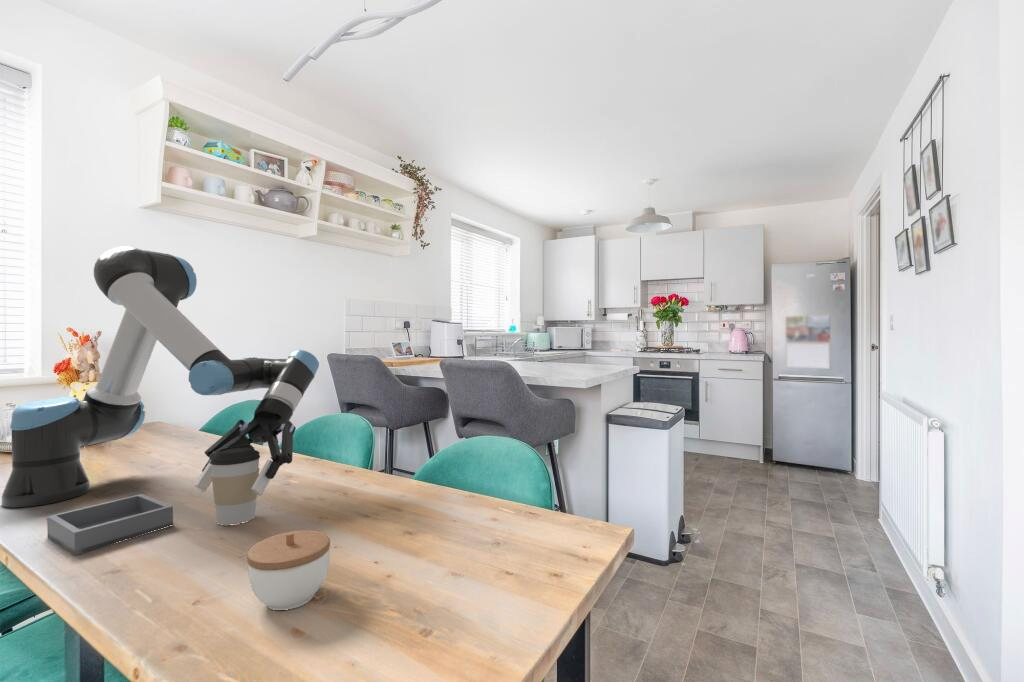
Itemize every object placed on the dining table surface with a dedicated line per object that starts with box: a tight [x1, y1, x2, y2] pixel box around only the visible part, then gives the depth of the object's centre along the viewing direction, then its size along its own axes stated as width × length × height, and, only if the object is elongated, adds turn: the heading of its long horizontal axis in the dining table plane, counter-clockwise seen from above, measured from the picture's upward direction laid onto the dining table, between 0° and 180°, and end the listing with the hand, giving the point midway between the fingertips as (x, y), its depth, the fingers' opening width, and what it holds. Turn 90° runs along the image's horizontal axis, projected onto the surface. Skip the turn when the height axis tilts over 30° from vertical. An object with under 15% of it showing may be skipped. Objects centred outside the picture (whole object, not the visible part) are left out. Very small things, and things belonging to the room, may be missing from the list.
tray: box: [46, 493, 174, 556], centre depth 92 cm, size 15×15×4 cm
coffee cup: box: [210, 444, 261, 525], centre depth 97 cm, size 9×9×15 cm
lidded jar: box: [246, 529, 331, 611], centre depth 67 cm, size 11×11×9 cm
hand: (227, 490), depth 95 cm, fingers open, 13 cm apart
